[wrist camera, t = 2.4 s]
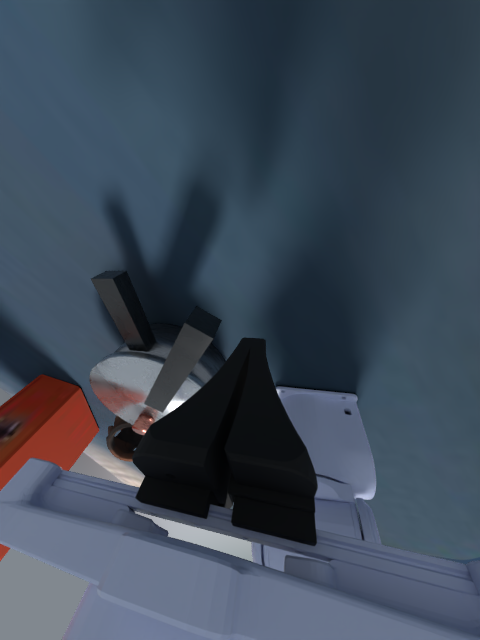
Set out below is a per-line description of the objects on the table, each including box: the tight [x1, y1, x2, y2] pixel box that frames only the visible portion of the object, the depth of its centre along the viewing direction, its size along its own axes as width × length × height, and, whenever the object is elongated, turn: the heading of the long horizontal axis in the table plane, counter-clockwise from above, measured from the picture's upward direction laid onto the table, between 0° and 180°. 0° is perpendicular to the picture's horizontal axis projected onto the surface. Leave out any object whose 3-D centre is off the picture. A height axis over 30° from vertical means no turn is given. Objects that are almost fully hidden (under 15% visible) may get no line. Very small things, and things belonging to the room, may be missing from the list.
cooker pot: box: [91, 271, 225, 384], centre depth 24 cm, size 24×14×5 cm, turn 5°
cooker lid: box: [90, 306, 222, 435], centre depth 20 cm, size 22×15×2 cm, turn 150°
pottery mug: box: [106, 415, 144, 461], centre depth 36 cm, size 12×10×8 cm
